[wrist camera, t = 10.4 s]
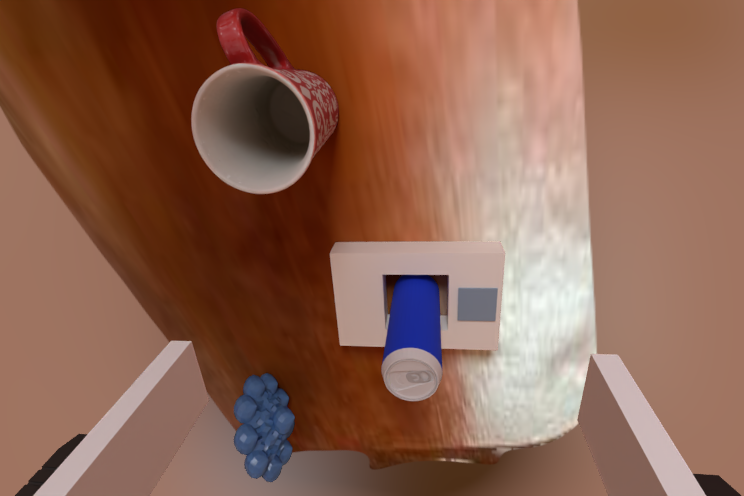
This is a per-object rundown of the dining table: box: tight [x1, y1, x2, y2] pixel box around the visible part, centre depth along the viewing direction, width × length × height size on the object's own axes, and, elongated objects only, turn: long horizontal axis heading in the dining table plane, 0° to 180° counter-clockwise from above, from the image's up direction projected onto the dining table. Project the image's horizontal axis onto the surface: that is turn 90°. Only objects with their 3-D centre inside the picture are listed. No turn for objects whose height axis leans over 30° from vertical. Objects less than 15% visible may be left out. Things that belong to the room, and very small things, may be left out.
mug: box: [191, 8, 339, 194], centre depth 34 cm, size 13×9×14 cm
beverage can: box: [381, 275, 442, 401], centre depth 41 cm, size 5×5×15 cm
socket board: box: [330, 241, 505, 350], centre depth 46 cm, size 12×18×3 cm, turn 93°
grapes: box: [234, 373, 295, 482], centre depth 52 cm, size 12×7×12 cm, turn 24°
